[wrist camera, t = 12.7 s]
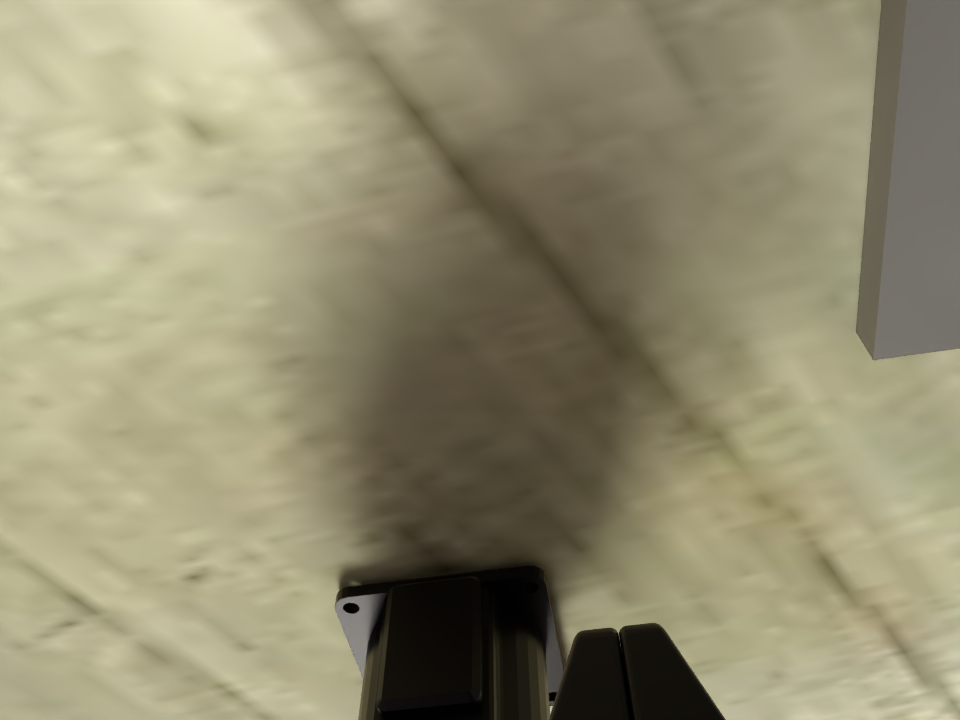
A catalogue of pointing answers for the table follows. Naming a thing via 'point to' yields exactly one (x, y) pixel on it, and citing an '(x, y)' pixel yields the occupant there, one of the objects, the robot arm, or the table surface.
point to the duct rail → (913, 185)
